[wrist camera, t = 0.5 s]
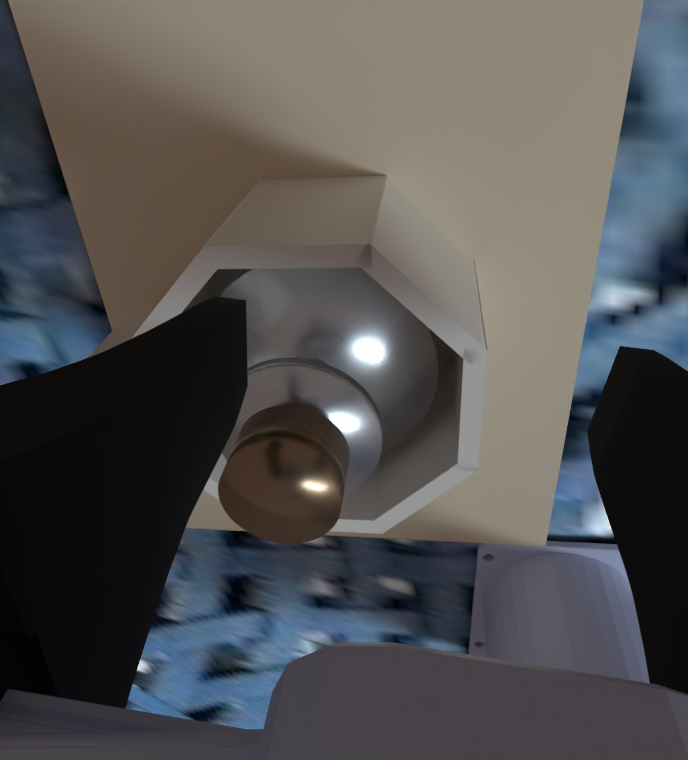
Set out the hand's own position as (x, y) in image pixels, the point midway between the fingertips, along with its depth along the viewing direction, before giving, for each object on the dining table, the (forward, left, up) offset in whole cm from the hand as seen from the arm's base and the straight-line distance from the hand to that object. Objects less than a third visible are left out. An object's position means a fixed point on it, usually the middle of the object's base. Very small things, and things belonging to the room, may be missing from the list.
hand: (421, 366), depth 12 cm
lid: (-4, +3, -6) cm, 8 cm away
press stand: (-4, +3, -10) cm, 11 cm away
